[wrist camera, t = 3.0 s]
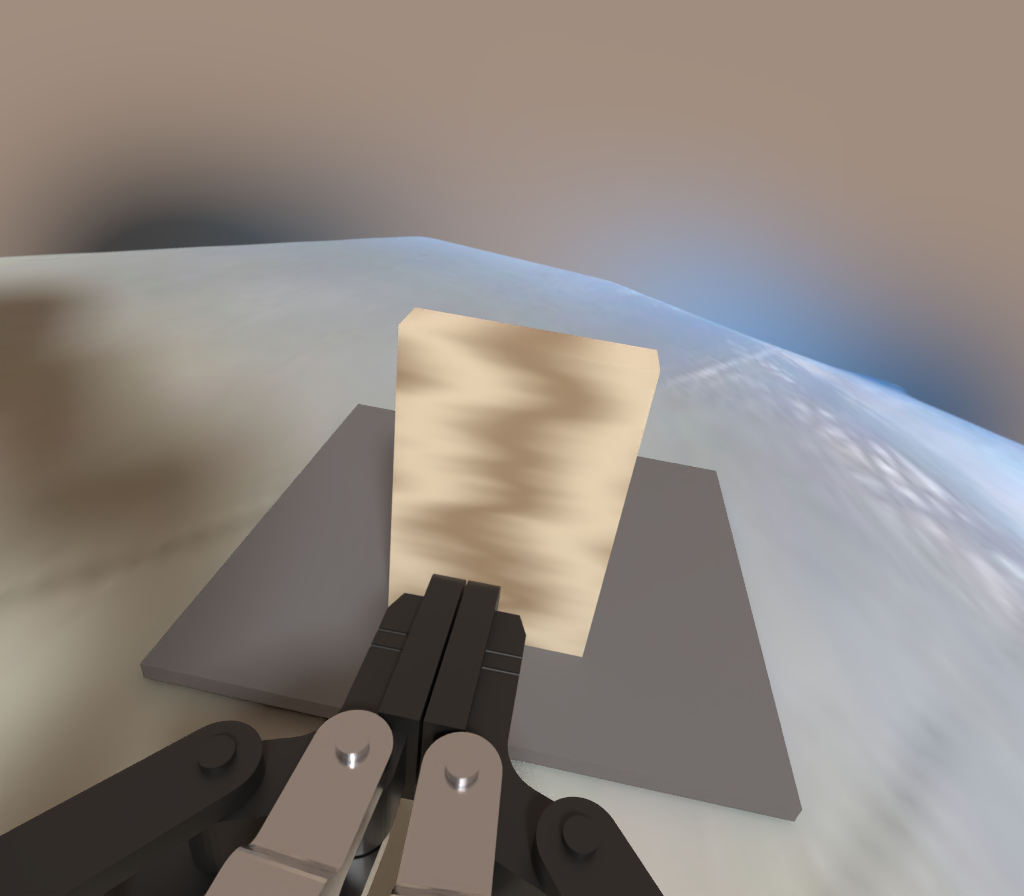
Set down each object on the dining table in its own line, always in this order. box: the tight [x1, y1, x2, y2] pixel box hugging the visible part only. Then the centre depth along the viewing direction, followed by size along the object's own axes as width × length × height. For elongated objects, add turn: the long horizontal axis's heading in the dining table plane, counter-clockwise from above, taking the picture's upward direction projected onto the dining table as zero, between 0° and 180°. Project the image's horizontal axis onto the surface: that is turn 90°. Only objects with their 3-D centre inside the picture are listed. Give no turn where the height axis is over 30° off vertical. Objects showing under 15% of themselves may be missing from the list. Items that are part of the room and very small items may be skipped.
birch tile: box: [388, 308, 660, 657], centre depth 26 cm, size 9×2×14 cm, turn 81°
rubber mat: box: [140, 404, 802, 821], centre depth 34 cm, size 26×24×1 cm
